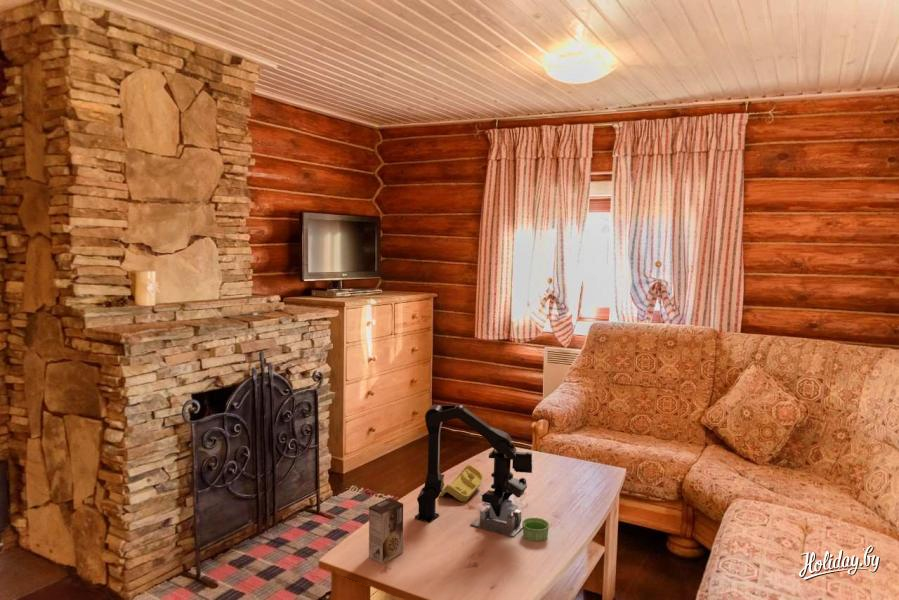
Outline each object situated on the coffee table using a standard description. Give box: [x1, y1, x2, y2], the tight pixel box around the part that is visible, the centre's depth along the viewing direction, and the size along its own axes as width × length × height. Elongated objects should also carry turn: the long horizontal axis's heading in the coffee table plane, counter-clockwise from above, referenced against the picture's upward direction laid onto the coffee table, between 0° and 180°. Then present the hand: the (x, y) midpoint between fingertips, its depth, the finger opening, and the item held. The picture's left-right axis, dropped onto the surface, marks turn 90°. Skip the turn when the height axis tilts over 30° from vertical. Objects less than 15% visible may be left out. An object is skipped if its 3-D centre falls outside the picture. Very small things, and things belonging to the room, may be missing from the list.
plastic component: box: [439, 464, 484, 503], centre depth 239 cm, size 20×7×10 cm
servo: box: [483, 499, 519, 522], centre depth 212 cm, size 4×11×7 cm, turn 61°
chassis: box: [470, 505, 526, 538], centre depth 212 cm, size 14×16×4 cm
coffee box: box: [368, 497, 404, 565], centre depth 188 cm, size 9×6×16 cm
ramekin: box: [522, 517, 550, 542], centre depth 204 cm, size 9×9×4 cm
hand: (500, 514), depth 212 cm, fingers closed on servo, 4 cm apart
